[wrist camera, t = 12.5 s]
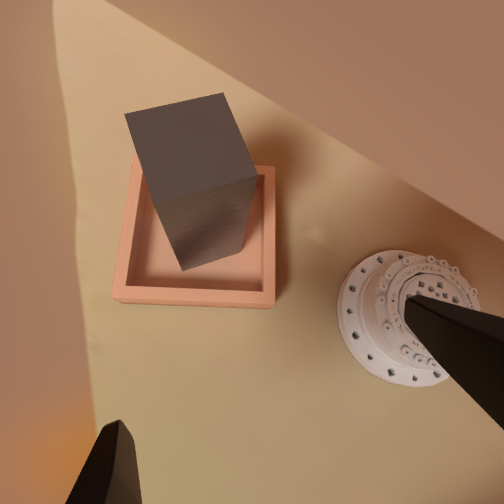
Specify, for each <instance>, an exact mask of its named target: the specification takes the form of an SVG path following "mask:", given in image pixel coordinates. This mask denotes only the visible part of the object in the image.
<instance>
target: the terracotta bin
mask: <svg viewBox="0 0 504 504" xmlns="http://www.w3.org/2000/svg"><path fill="white" fill-rule="evenodd" d="M254 166H255V168H256V171H257V173H258V178H257V182H256V186H255V191H254V195H253V199H252V204H251V208H250V212H249V217H248V221H247V225H246V230H245V234H244V238H243V242H242V247H241V251H240V253H237V254H234V255H231V256H228V257H225V258H222V259H219V260H216V261H213V262H210V263H207V264H204V265H201V266H198V267H195V268H192V269H189V270H186V271H183V272H182V270H181V267H180V265H179V263H178V260H177V258H176V256H175V253H174V251H173V249H172V247H171V244H170V242H169V240H168V237H167V235H166V233H165V230H164V228H163V226H162V223H161V221H160V219H159V216H158V214H157V212H156V210H155V207H154V205H153V202H152V199H151V196H150V193H149V190H148V186H147V183H146V180H145V177H144V174H143V171H142V168H141V165H140V161H139V158H138V155H134V157H133V163H132V169H131V175H130V181H129V188H128V194H127V200H126V206H125V212H124V218H123V224H122V231H121V237H120V243H119V249H118V255H117V261H116V268H115V274H114V280H113V286H112V292H111V298H112V299H114V300H116V301H118V302H120V303H125V304H152V305H178V306H204V307H230V308H257V309H270V308H271V307H272V306H273V305H275V166H265V165H254Z"/></svg>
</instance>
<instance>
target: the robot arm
mask: <svg viewBox="0 0 504 504" xmlns="http://www.w3.org/2000/svg"><path fill="white" fill-rule="evenodd" d="M404 321H405V323H406V325H407V326H408V327H409V328H410V330H411V331H412V332H413V333H414V335H415V336H416V337H417V338H418V339H419V341H420V342H421V343H422V344H423V346H424V347H425V348H426V349H427V350H428V352H429V353H430V354H431V355H432V357H433V358H434V359H435V360H436V361H437V362H438V364H439V365H440V366H441V367H442V368H443V369H444V370H445V371H446V372H447V373H448V374H449V375H450V376H451V377H452V378H453V379H454V380H455V381H456V382H457V383H458V384H459V385H460V386H461V387H462V388H463V389H464V390H465V391H466V392H467V393H468V394H469V395H470V396H471V397H472V398H473V399H474V400H475V401H476V402H477V403H478V404H479V405H480V406H481V407H482V408H483V409H484V411H485V412H486V413H487V414H488V415H489V416H490V417H491V418H492V419H493V420H494V421H495V422H496V423H497V424H498V425H499V426H500V427H501V428H502V429H503V430H504V318H502V317H498V316H494V315H491V314H487V313H484V312H480V311H477V310H473V309H469V308H466V307H462V306H459V305H455V304H452V303H448V302H444V301H441V300H437V299H434V298H430V297H426V296H423V295H418V294H417V295H414V296H411V297H409V298H407V299H406V300H405V306H404ZM65 504H142V498H141V490H140V482H139V475H138V467H137V459H136V451H135V444H134V440H133V437H132V435H131V434H130V432H129V431H128V429H127V428H126V426H125V425H124V423H123V422H122V421H121V420H116V421H114V422H111V423H109V424H107V425H105V426H104V427H103V428H102V430H101V432H100V434H99V436H98V438H97V440H96V442H95V444H94V446H93V448H92V450H91V452H90V454H89V456H88V458H87V461H86V462H85V465H84V466H83V468H82V470H81V472H80V475H79V476H78V479H77V481H76V483H75V485H74V487H73V489H72V491H71V493H70V495H69V497H68V499H67V501H66V503H65Z"/></svg>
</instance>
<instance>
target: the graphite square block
mask: <svg viewBox="0 0 504 504" xmlns="http://www.w3.org/2000/svg"><path fill="white" fill-rule="evenodd" d="M124 115H125V118H126V121H127V124H128V127H129V130H130V133H131V136H132V140H133V143H134V146H135V149H136V152H137V155H138V158H139V161H140V165H141V168H142V171H143V174H144V177H145V180H146V183H147V186H148V190H149V193H150V196H151V199H152V202H153V205H154V207H155V210H156V212H157V214H158V216H159V219H160V221H161V223H162V226H163V228H164V230H165V233H166V235H167V237H168V240H169V242H170V244H171V247H172V249H173V251H174V253H175V256H176V258H177V260H178V263H179V265H180V267H181V270H182V272H183V271H186V270H189V269H192V268H195V267H198V266H201V265H204V264H207V263H210V262H213V261H216V260H219V259H222V258H225V257H228V256H231V255H234V254H237V253H240V251H241V247H242V242H243V238H244V234H245V230H246V225H247V221H248V217H249V212H250V208H251V204H252V199H253V195H254V191H255V186H256V182H257V178H258V173H257V171H256V168H255V166H254V164H253V161H252V159H251V157H250V154H249V152H248V150H247V147H246V145H245V143H244V140H243V138H242V136H241V133H240V131H239V129H238V126H237V124H236V122H235V119H234V117H233V114H232V112H231V110H230V107H229V105H228V103H227V100H226V98H225V96H224V93H219V94H214V95H210V96H205V97H201V98H196V99H191V100H187V101H182V102H178V103H173V104H168V105H164V106H159V107H155V108H150V109H146V110H141V111H136V112H132V113H127V114H124Z"/></svg>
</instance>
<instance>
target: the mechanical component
mask: <svg viewBox="0 0 504 504" xmlns="http://www.w3.org/2000/svg"><path fill="white" fill-rule="evenodd" d="M349 289H350V290H349ZM417 294H418V295H423V296H426V297H430V298H434V299H437V300H441V301H444V302H448V303H452V304H455V305H459V306H462V307H466V308H469V309H473V310H477V311H480V312H481V308H480V304H479V301H478V299H477V296H476V295H478V290H477V289H476V288H473V287H472V288H471V286H470V285H469V283H468V282H467V280H466V279H465V278H464V277H463V276H462V275H460V274H459V269H458V268H457V267H456V266H454V267H451V266H450V265H449V264H447V261H446V260H444V259H442V260H437V259H435V258H434V257H433V256H427V257H426V256H422V255H418V254H415V253H412V252H409V251H405V250H388V251H384V252H379V253H376V254H374V255H372V256H370V257H368V258H366V259H364V260H363V261H362V262H360V263H359V264H358V265H357V266H355V267H354V268H353V269H351V270H350V272H349V273H348V275H347V277H346V278H345V280H344V282H343V283H342V285H341V288H340V292H339V295H338V299H337V317H338V323H339V329H340V332H341V334H342V336H343V339H344V341H345V343H346V345H347V348H348V349H349V351H350V352H351V353H352V355H353V356H354V358H355V359H356V360H357V361H358V362H359V363H360V364H361V365H362V366H363V367H364V368H366V369H367V370H368V371H369V372H370V373H372V374H374V375H376V376H377V377H379V378H381V379H383V380H385V381H387V382H389V383H395V384H400V385H406V386H411V387H421V386H431V385H435V384H437V383H439V382H441V381H443V380H445V379H447V378H448V377H449V376H450V375H449V374H448V373H447V372H446V371H445V370H444V369H443V368H442V367H441V366H440V365H439V364H438V362H437V361H436V360H435V359H434V358H433V357H432V355H431V354H430V353H429V352H428V350H427V349H426V348H425V347H424V346H423V344H422V343H421V342H420V341H419V339H418V338H417V337H416V336H415V335H414V333H413V332H412V331H411V330H410V328H409V327H408V326H407V325H406V323H405V321H404V306H405V300H406V299H407V298H409V297H411V296H414V295H417ZM352 335H353V336H354V337H353V336H352Z"/></svg>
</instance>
